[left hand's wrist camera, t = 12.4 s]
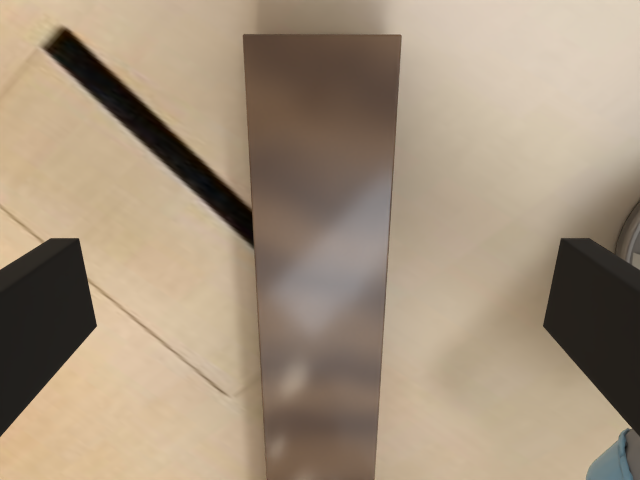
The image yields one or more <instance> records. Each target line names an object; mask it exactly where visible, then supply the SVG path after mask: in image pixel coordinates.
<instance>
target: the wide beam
mask: <svg viewBox="0 0 640 480" xmlns="http://www.w3.org/2000/svg"><path fill="white" fill-rule="evenodd" d="M401 38H402V36H401V35H336V34H244V35H243V48H244V67H245V85H246V104H247V122H248V141H249V159H250V178H251V196H252V215H253V233H254V252H255V270H256V289H257V307H258V326H259V344H260V363H261V381H262V400H263V418H264V437H265V455H266V474H267V480H374V479H375V462H376V446H377V430H378V413H379V397H380V381H381V364H382V348H383V332H384V315H385V299H386V283H387V266H388V250H389V234H390V217H391V201H392V185H393V169H394V152H395V136H396V120H397V103H398V87H399V71H400V54H401Z"/></svg>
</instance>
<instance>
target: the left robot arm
mask: <svg viewBox="0 0 640 480" xmlns="http://www.w3.org/2000/svg"><path fill="white" fill-rule="evenodd" d="M96 327H97V324H96V319H95V314H94V309H93V305H92V300H91V295H90V290H89V285H88V280H87V275H86V270H85V265H84V261H83V256H82V251H81V246H80V241H79V238H51V239H49V240H47V241H46V242H44V243H43V244H41V245H39V246H38V247H36V248H35V249H33V250H31V251H30V252H28V253H27V254H25V255H23V256H22V257H20V258H18V259H17V260H15V261H14V262H12V263H10V264H9V265H7V266H6V267H4V268H2V269H1V270H0V437H1V435H2V434H3V433H4V432H5V431H6V430H7V428H8V427H9V426H10V425H11V424H12V423H13V422H14V420H15V419H16V418H17V417H18V416H19V415H20V414H21V412H22V411H23V410H24V409H25V408H26V407H27V406H28V404H29V403H30V402H31V401H32V400H33V399H34V398H35V396H36V395H37V394H38V393H39V392H40V391H41V390H42V388H43V387H44V386H45V385H46V384H47V383H48V382H49V380H50V379H51V378H52V377H53V376H54V375H55V374H56V372H57V371H58V370H59V369H60V368H61V367H62V366H63V364H64V363H65V362H66V361H67V360H68V359H69V357H70V356H71V355H72V354H73V353H74V352H75V351H76V349H77V348H78V347H79V346H80V345H81V344H82V343H83V341H84V340H85V339H86V338H87V337H88V336H89V335H90V333H91V332H92V331H93V330H94V329H95V328H96ZM543 327H544V328H545V329H546V330H547V331H548V332H549V333H550V335H551V336H552V337H553V338H554V339H555V340H556V341H557V343H558V344H559V345H560V346H561V347H562V348H563V349H564V351H565V352H566V353H567V354H568V355H569V356H570V358H571V359H572V360H573V361H574V362H575V363H576V364H577V366H578V367H579V368H580V369H581V370H582V371H583V372H584V374H585V375H586V376H587V377H588V378H589V379H590V380H591V382H592V383H593V384H594V385H595V386H596V387H597V388H598V390H599V391H600V392H601V393H602V394H603V395H604V396H605V398H606V399H607V400H608V401H609V402H610V403H611V404H612V406H613V407H614V408H615V409H616V410H617V411H618V412H619V414H620V415H621V416H622V417H623V418H624V419H625V420H626V422H627V423H628V424H629V425H630V426H631V427H632V429H628V428H627V429H626V430H624V431H622V432H621V434H620V435H619V439H618V441H617V442H615V443H614V444H613V445H612V446H611V447H610V448H609V449H608V450H606V451H605V452H604V453H603V454H602V455H601V456H600V457H598V458H597V459H596V460H595V461H594V462H593V463H592V464H591V466H590V467H589V469H588V472H587V476H586V480H640V202H639V203H638V204H637V205H636V207H635V208H634V209H633V211H632V212H631V214H630V215H629V217H628V219H627V220H626V222H625V224H624V226H623V228H622V231H621V233H620V236H619V239H618V242H617V246H616V252H615V254H613V253H612V252H610V251H609V250H607V249H605V248H604V247H602V246H601V245H599V244H597V243H596V242H594V241H593V240H591V239H589V238H561V241H560V246H559V251H558V256H557V261H556V265H555V270H554V275H553V280H552V285H551V290H550V295H549V300H548V305H547V309H546V314H545V319H544V324H543Z"/></svg>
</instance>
